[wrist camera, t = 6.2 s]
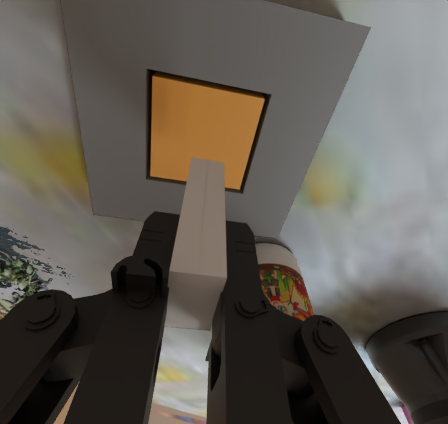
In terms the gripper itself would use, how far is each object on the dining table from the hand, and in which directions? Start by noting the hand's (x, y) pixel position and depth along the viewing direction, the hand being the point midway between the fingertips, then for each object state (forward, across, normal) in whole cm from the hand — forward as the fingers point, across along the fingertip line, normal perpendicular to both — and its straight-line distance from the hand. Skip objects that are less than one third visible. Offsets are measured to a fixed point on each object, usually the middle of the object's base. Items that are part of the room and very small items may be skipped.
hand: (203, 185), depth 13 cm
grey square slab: (+7, 0, 0) cm, 7 cm away
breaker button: (+7, 0, -1) cm, 7 cm away
